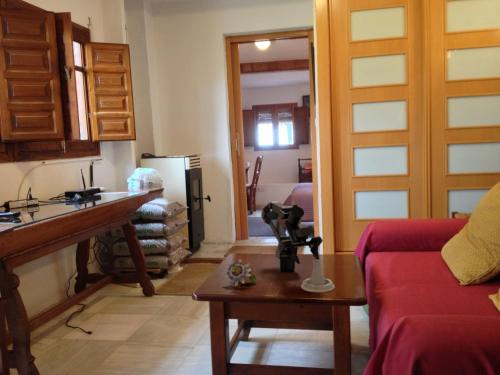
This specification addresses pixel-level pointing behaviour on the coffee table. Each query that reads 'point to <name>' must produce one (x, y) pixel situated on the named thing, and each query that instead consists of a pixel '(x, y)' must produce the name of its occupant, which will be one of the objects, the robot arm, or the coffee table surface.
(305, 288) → the shaker seat
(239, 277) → the passion flower
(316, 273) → the flask
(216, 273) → the coffee table surface
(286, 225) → the robot arm
